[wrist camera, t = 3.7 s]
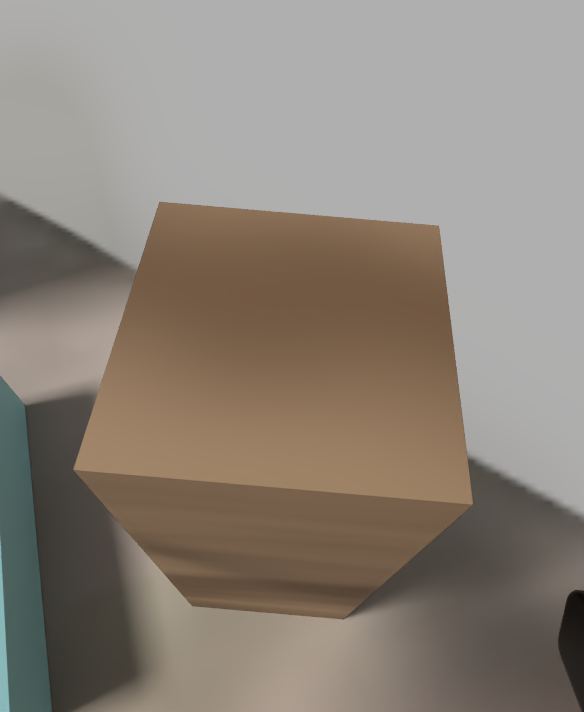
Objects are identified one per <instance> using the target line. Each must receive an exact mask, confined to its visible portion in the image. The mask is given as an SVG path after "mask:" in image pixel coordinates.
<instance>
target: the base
mask: <svg viewBox="0 0 584 712" xmlns="http://www.w3.org/2000/svg"><path fill="white" fill-rule="evenodd" d="M0 712H52V704H51V693H50V682H49V670H48V659H47V648H46V637H45V626H44V615H43V603H42V592H41V581H40V570H39V559H38V547H37V536H36V525H35V514H34V503H33V492H32V480H31V469H30V458H29V447H28V436H27V424H26V413H25V404H24V403H23V402H22V401H21V400H20V398H19V397H18V396H17V395H16V394H15V393H14V391H13V390H12V389H11V388H10V387H9V385H8V384H7V383H6V382H5V381H4V380H3V378H2V377H1V376H0Z"/></svg>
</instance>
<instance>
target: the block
mask: <svg viewBox="0 0 584 712" xmlns="http://www.w3.org/2000/svg"><path fill="white" fill-rule="evenodd" d="M441 247H442V246H441V238H440V230H439V226H435V225H423V224H412V223H400V222H387V221H376V220H364V219H353V218H341V217H330V216H318V215H306V214H295V213H283V212H271V211H258V210H248V209H236V208H224V207H212V206H201V205H189V204H177V203H165V202H159V205H158V208H157V211H156V214H155V218H154V221H153V224H152V227H151V230H150V233H149V236H148V239H147V242H146V245H145V249H144V252H143V255H142V258H141V261H140V264H139V267H138V270H137V273H136V276H135V280H134V283H133V286H132V289H131V292H130V295H129V298H128V301H127V304H126V307H125V311H124V314H123V317H122V320H121V323H120V326H119V329H118V332H117V335H116V338H115V342H114V345H113V348H112V351H111V354H110V357H109V360H108V363H107V366H106V370H105V373H104V376H103V379H102V382H101V385H100V388H99V391H98V394H97V397H96V401H95V404H94V407H93V410H92V413H91V416H90V419H89V422H88V425H87V428H86V432H85V435H84V438H83V441H82V444H81V447H80V450H79V453H78V456H77V459H76V463H75V466H74V469H73V470H74V471H75V473H76V474H77V475H78V476H79V477H80V478H81V479H82V481H83V482H84V483H85V484H86V485H87V486H88V487H89V489H90V490H91V491H92V492H93V493H94V494H95V495H96V497H97V498H98V499H99V500H100V501H101V502H102V503H103V505H104V506H105V507H106V508H107V509H108V510H109V511H110V513H111V514H112V515H113V516H114V517H115V518H116V519H117V521H118V522H119V523H120V524H121V525H122V526H123V527H124V529H125V530H126V531H127V532H128V533H129V534H130V535H131V537H132V538H133V539H134V540H135V541H136V542H137V543H138V545H139V546H140V547H141V548H142V549H143V550H144V551H145V553H146V554H147V555H148V556H149V557H150V558H151V559H152V561H153V562H154V563H155V564H156V565H157V566H158V567H159V569H160V570H161V571H162V572H163V573H164V574H165V575H166V577H167V578H168V579H169V580H170V581H171V582H172V583H173V585H174V586H175V587H176V588H177V589H178V590H179V591H180V593H181V594H182V595H183V596H184V597H185V598H186V599H187V601H188V602H189V603H190V604H191V605H192V606H198V607H209V608H220V609H232V610H243V611H255V612H266V613H278V614H289V615H301V616H312V617H324V618H335V619H344V618H345V617H346V616H348V615H349V614H350V613H351V612H352V611H353V610H354V609H355V608H357V607H358V606H359V605H360V604H361V603H362V602H363V601H365V600H366V599H367V598H368V597H369V596H370V595H371V594H372V593H374V592H375V591H376V590H377V589H378V588H379V587H380V586H382V585H383V584H384V583H385V582H386V581H387V580H388V579H389V578H391V577H392V576H393V575H394V574H395V573H396V572H397V571H398V570H400V569H401V568H402V567H403V566H404V565H405V564H406V563H408V562H409V561H410V560H411V559H412V558H413V557H414V556H415V555H417V554H418V553H419V552H420V551H421V550H422V549H423V548H424V547H426V546H427V545H428V544H429V543H430V542H431V541H432V540H434V539H435V538H436V537H437V536H438V535H439V534H440V533H441V532H443V531H444V530H445V529H446V528H447V527H448V526H449V525H451V524H452V523H453V522H454V521H455V520H456V519H457V518H458V517H460V516H461V515H462V514H463V513H464V512H465V511H466V510H467V509H469V508H470V507H471V506H472V505H473V500H472V492H471V483H470V475H469V467H468V459H467V451H466V443H465V434H464V426H463V418H462V410H461V402H460V394H459V385H458V378H457V369H456V361H455V353H454V344H453V336H452V328H451V320H450V312H449V304H448V295H447V287H446V279H445V271H444V263H443V254H442V248H441Z"/></svg>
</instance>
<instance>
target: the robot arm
mask: <svg viewBox="0 0 584 712" xmlns="http://www.w3.org/2000/svg"><path fill="white" fill-rule="evenodd" d="M558 646H559V652H560V656H561V659H562V661H563V664H564V667H565V669H566V672H567V674H568V677H569V680H570V682H571V685H572V687H573V690H574V693H575V695H576V698H577V700H578V703H579V706H580V708H581V711H582V712H584V591H582V590H574V591H572V592H571V593H570V594H569V596H568V598H567V601H566V606H565V610H564V614H563V619H562V623H561V627H560V632H559V637H558Z"/></svg>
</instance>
